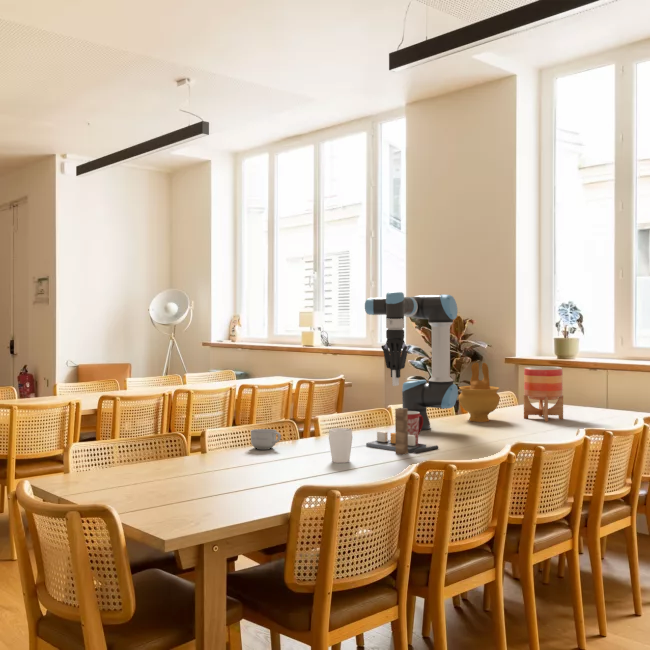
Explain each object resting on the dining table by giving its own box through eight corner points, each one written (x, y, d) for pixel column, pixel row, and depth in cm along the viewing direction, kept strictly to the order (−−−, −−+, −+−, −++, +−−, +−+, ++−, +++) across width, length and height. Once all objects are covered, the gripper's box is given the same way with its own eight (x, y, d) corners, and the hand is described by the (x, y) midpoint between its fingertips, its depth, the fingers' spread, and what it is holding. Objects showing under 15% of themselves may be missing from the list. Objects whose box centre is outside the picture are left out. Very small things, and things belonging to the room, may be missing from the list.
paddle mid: (393, 442, 301) (393, 432, 301) (401, 443, 299) (401, 433, 299) (390, 442, 300) (390, 433, 300) (398, 443, 297) (398, 434, 297)
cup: (325, 460, 275) (325, 428, 275) (346, 457, 279) (346, 427, 279) (334, 464, 267) (334, 432, 267) (356, 462, 270) (356, 430, 270)
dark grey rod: (436, 448, 297) (436, 444, 297) (439, 448, 296) (439, 445, 296) (413, 453, 287) (413, 449, 287) (416, 453, 286) (416, 450, 286)
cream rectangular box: (407, 444, 297) (407, 434, 297) (415, 445, 294) (415, 435, 294) (404, 444, 295) (404, 435, 295) (412, 445, 293) (412, 436, 293)
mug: (409, 446, 301) (409, 414, 301) (394, 443, 309) (394, 412, 308) (430, 442, 309) (430, 411, 309) (415, 439, 316) (415, 409, 316)
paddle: (379, 440, 306) (379, 431, 306) (387, 441, 303) (387, 431, 303) (377, 440, 304) (377, 431, 304) (384, 442, 302) (384, 432, 302)
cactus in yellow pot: (451, 421, 369) (451, 363, 368) (468, 416, 386) (468, 360, 385) (490, 424, 357) (490, 364, 356) (506, 419, 374) (505, 362, 373)
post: (400, 452, 289) (400, 407, 289) (407, 453, 287) (407, 408, 286) (395, 453, 286) (395, 408, 286) (402, 454, 284) (402, 409, 284)
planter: (521, 415, 386) (521, 366, 386) (559, 416, 383) (559, 366, 383) (526, 421, 366) (526, 369, 366) (566, 421, 364) (566, 369, 363)
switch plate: (382, 442, 311) (382, 438, 311) (426, 448, 297) (426, 444, 297) (366, 446, 302) (366, 442, 302) (410, 452, 288) (410, 448, 288)
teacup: (245, 448, 299) (245, 429, 299) (264, 445, 307) (264, 426, 307) (268, 453, 289) (267, 433, 289) (287, 449, 297) (287, 430, 297)
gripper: (377, 329, 300) (377, 385, 300) (403, 329, 291) (403, 387, 292) (387, 328, 305) (388, 383, 306) (413, 329, 297) (413, 385, 298)
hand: (395, 385), depth 299 cm, fingers closed
